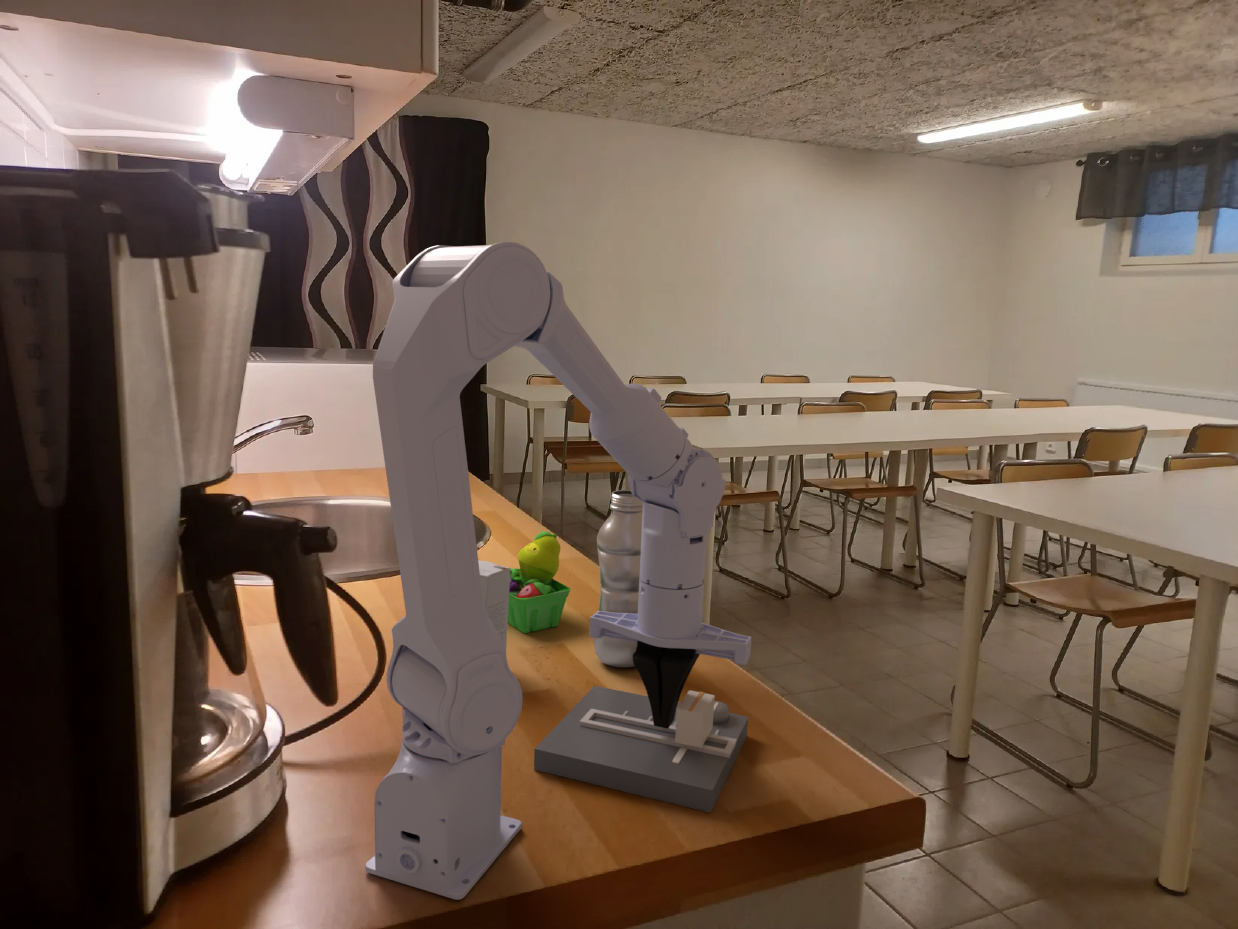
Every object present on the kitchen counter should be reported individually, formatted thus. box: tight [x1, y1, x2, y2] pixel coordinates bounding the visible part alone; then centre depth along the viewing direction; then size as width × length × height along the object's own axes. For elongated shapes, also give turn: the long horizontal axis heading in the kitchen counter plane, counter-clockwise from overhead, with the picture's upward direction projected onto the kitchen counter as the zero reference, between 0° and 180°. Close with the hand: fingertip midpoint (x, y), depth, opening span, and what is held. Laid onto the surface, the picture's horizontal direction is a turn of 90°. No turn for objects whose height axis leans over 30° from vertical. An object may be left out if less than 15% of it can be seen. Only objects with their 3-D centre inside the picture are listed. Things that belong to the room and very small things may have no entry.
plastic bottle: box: [593, 489, 643, 668], centre depth 97 cm, size 6×7×20 cm
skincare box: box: [478, 559, 511, 650], centre depth 94 cm, size 6×4×12 cm
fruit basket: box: [507, 530, 571, 634], centre depth 111 cm, size 11×9×11 cm
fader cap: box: [675, 689, 715, 748], centre depth 77 cm, size 4×2×4 cm, turn 160°
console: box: [533, 685, 749, 813], centre depth 79 cm, size 14×16×3 cm
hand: (664, 722), depth 78 cm, fingers closed
